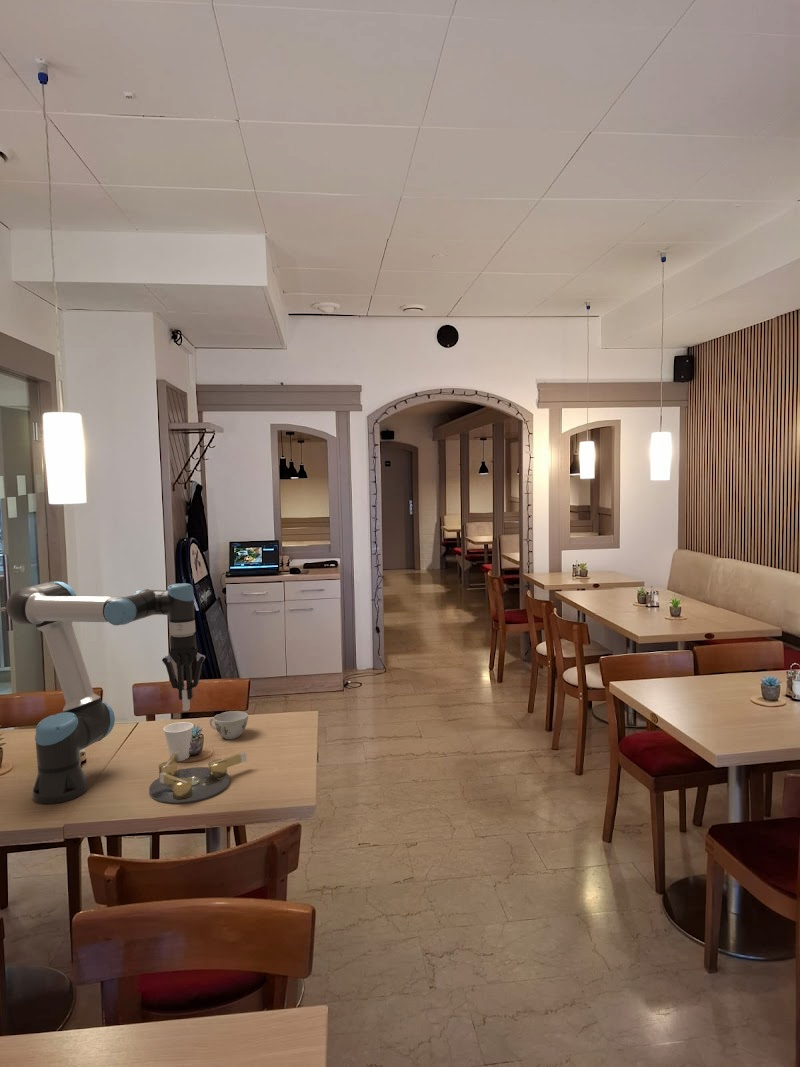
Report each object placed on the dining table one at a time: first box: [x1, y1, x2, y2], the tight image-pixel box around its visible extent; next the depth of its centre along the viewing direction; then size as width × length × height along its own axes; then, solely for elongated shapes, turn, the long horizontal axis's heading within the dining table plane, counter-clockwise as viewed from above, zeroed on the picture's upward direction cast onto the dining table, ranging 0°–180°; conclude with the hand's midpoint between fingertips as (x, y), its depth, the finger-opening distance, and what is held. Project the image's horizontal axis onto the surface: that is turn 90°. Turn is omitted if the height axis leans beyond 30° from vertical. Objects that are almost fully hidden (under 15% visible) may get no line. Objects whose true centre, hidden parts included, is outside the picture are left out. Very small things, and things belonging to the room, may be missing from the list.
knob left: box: [158, 751, 179, 779], centre depth 227 cm, size 13×6×4 cm, turn 3°
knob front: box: [160, 772, 192, 799], centre depth 213 cm, size 13×6×4 cm, turn 53°
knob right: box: [208, 751, 247, 779], centre depth 227 cm, size 13×6×4 cm, turn 135°
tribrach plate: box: [148, 766, 231, 805], centre depth 220 cm, size 24×24×2 cm
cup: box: [162, 721, 194, 762], centre depth 242 cm, size 10×10×11 cm
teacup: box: [209, 710, 249, 740], centre depth 262 cm, size 15×12×8 cm
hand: (186, 709), depth 218 cm, fingers closed
